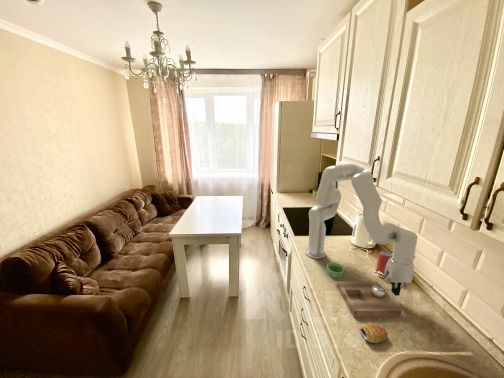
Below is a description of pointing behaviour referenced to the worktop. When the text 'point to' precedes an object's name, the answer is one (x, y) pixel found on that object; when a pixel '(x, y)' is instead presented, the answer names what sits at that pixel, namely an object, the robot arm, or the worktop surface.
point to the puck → (378, 292)
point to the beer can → (383, 260)
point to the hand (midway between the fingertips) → (395, 293)
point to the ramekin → (336, 267)
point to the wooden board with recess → (367, 300)
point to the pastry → (373, 333)
